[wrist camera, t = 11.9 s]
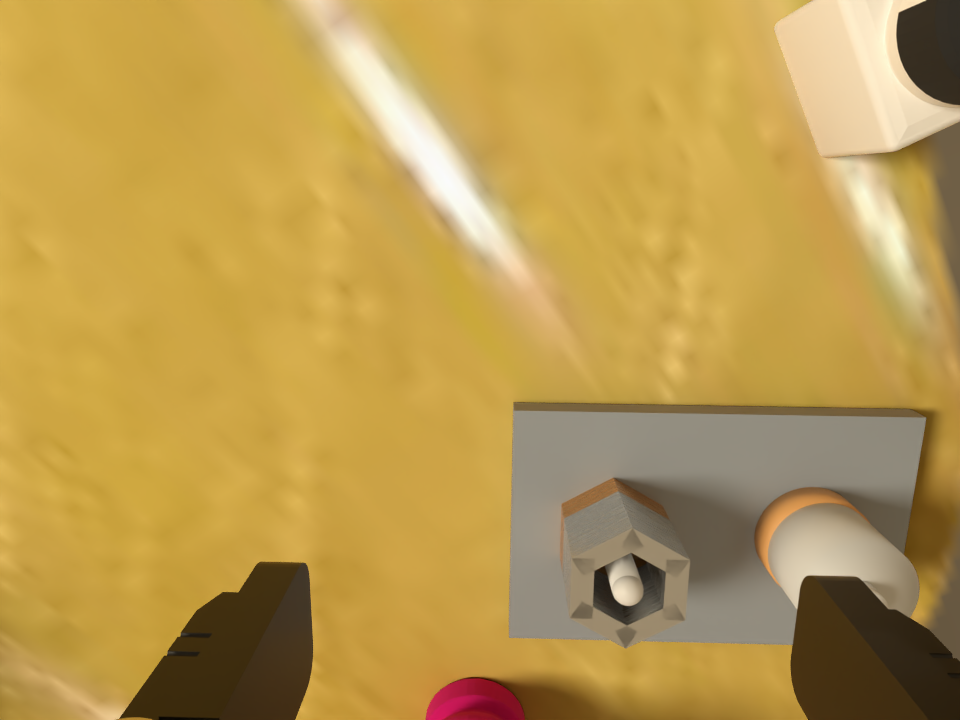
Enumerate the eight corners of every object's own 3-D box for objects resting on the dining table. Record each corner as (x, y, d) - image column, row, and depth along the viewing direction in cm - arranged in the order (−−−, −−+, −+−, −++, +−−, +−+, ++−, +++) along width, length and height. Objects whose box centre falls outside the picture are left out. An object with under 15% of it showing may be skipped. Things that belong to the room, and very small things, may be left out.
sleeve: (558, 581, 41) (568, 647, 35) (562, 476, 39) (572, 527, 34) (657, 583, 41) (683, 649, 35) (664, 478, 39) (692, 529, 33)
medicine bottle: (955, 96, 36) (1176, 52, 24) (818, 160, 37) (967, 148, 25) (911, -46, 34) (1123, -166, 23) (769, 25, 35) (902, -55, 23)
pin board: (513, 402, 40) (516, 460, 32) (910, 409, 39) (1022, 469, 31) (509, 622, 43) (510, 728, 35) (875, 631, 43) (967, 741, 34)
